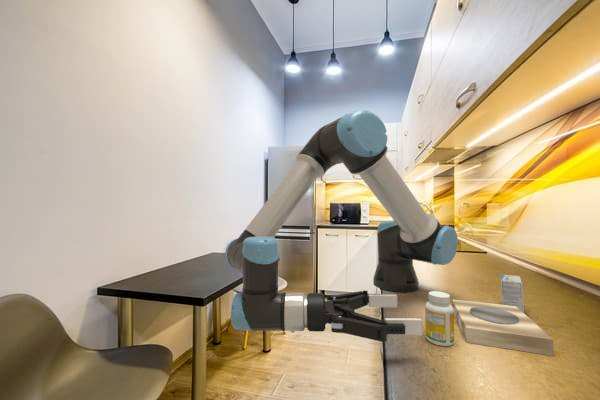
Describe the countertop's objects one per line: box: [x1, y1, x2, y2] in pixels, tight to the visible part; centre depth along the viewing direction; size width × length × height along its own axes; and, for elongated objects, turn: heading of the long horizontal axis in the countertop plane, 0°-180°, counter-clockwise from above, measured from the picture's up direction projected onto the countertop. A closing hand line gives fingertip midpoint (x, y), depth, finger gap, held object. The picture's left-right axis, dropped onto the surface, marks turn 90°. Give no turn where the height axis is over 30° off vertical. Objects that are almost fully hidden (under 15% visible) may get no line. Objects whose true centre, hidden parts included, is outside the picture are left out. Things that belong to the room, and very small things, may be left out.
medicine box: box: [500, 274, 525, 314], centre depth 72 cm, size 8×4×9 cm, turn 143°
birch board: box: [451, 299, 555, 357], centre depth 61 cm, size 18×14×3 cm
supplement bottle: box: [424, 290, 455, 347], centre depth 56 cm, size 5×5×10 cm
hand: (407, 312), depth 56 cm, fingers open, 13 cm apart
